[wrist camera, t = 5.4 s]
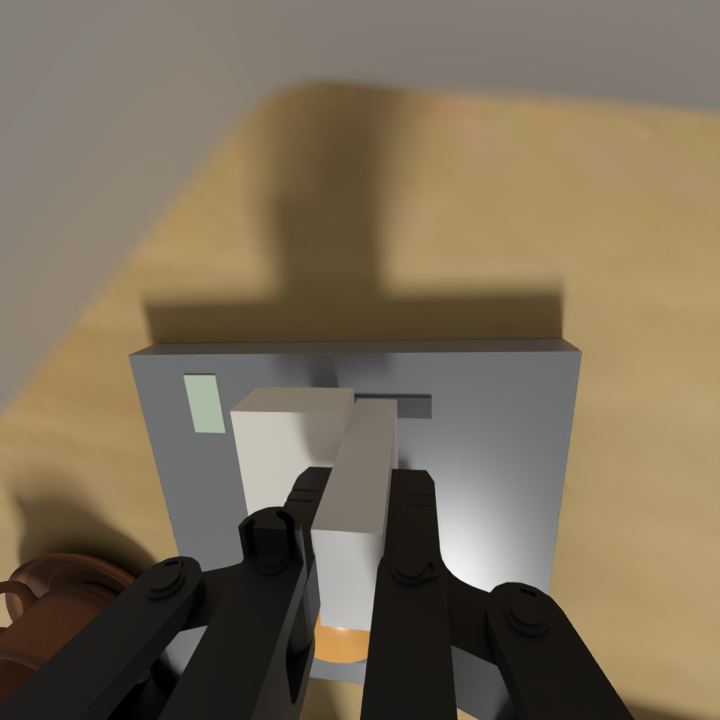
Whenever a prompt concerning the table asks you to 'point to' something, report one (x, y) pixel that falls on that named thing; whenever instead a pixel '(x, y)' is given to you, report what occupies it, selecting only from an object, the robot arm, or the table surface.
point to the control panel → (415, 441)
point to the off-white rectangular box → (287, 437)
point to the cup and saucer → (51, 609)
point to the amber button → (340, 644)
